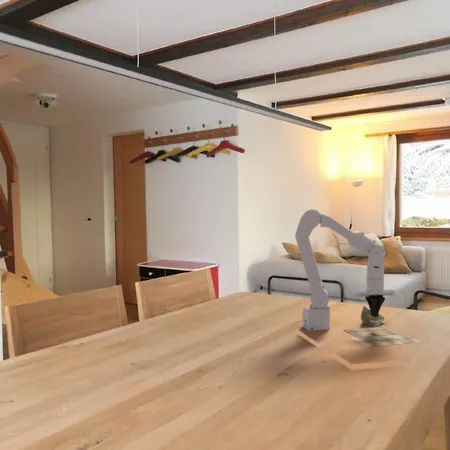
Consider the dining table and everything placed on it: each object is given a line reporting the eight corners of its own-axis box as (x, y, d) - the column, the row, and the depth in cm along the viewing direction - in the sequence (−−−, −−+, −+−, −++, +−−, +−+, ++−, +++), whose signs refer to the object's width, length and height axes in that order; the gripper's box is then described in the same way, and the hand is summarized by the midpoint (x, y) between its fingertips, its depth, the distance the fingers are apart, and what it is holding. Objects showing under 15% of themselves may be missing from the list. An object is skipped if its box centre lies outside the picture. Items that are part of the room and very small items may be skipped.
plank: (356, 341, 165) (356, 337, 165) (343, 333, 174) (343, 329, 174) (396, 338, 169) (396, 334, 169) (381, 330, 178) (381, 326, 178)
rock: (378, 329, 176) (360, 306, 181) (367, 338, 180) (350, 316, 184) (392, 323, 185) (374, 302, 189) (380, 332, 188) (364, 311, 192)
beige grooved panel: (366, 350, 155) (366, 346, 154) (350, 342, 164) (350, 337, 164) (421, 346, 159) (421, 341, 159) (403, 338, 169) (403, 333, 169)
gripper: (362, 280, 168) (362, 320, 168) (400, 279, 171) (399, 317, 172) (352, 277, 174) (351, 315, 175) (388, 276, 178) (387, 313, 179)
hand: (374, 316), depth 174 cm, fingers closed
